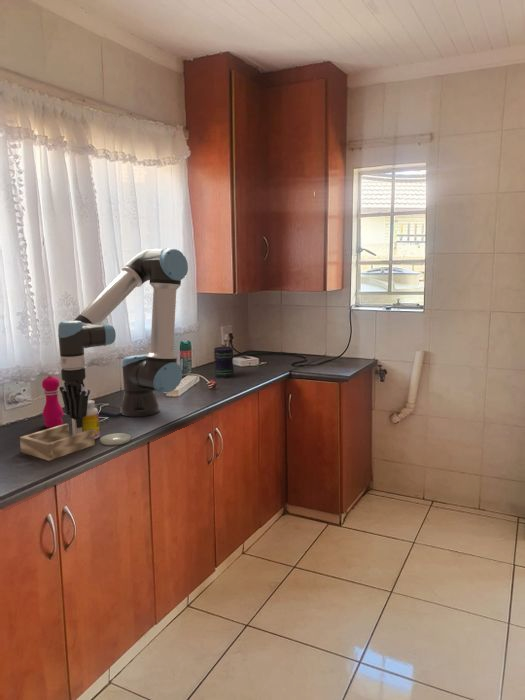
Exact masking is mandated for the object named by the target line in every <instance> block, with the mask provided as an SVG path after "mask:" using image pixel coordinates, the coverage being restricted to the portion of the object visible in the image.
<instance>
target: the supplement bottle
mask: <svg viewBox="0 0 525 700" xmlns="http://www.w3.org/2000/svg"><path fill="white" fill-rule="evenodd" d="M95 404H96V403H95V400H91V399H88V404H87V414H86V416H85V417H82V432H84V431H88V430H94V439H95V440H96V439H98V438H99V437H100V436H101V435H100V423H99V422H100V421H99V410H98V408H96V407H95Z"/></svg>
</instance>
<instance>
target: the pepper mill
mask: <svg viewBox="0 0 525 700" xmlns="http://www.w3.org/2000/svg"><path fill="white" fill-rule="evenodd" d="M41 386H42V388H43V392H44V395H45V404H44V408H43V410H42V418H43V419H44V420H45V421H44V427H45V428H46V429H49V428H52V427H56V426H59V425H62V424H64V421H63V419H62V418H63V416H64V409H63V407H62V406H61V404H60V402H59V398H58V397H59V395H58V394H59V393H60V391H59V389H58V388H60V381H59V379H58V378H57V377H55V376H53V372H48V374H47V377H44V379H42V382H41Z"/></svg>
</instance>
